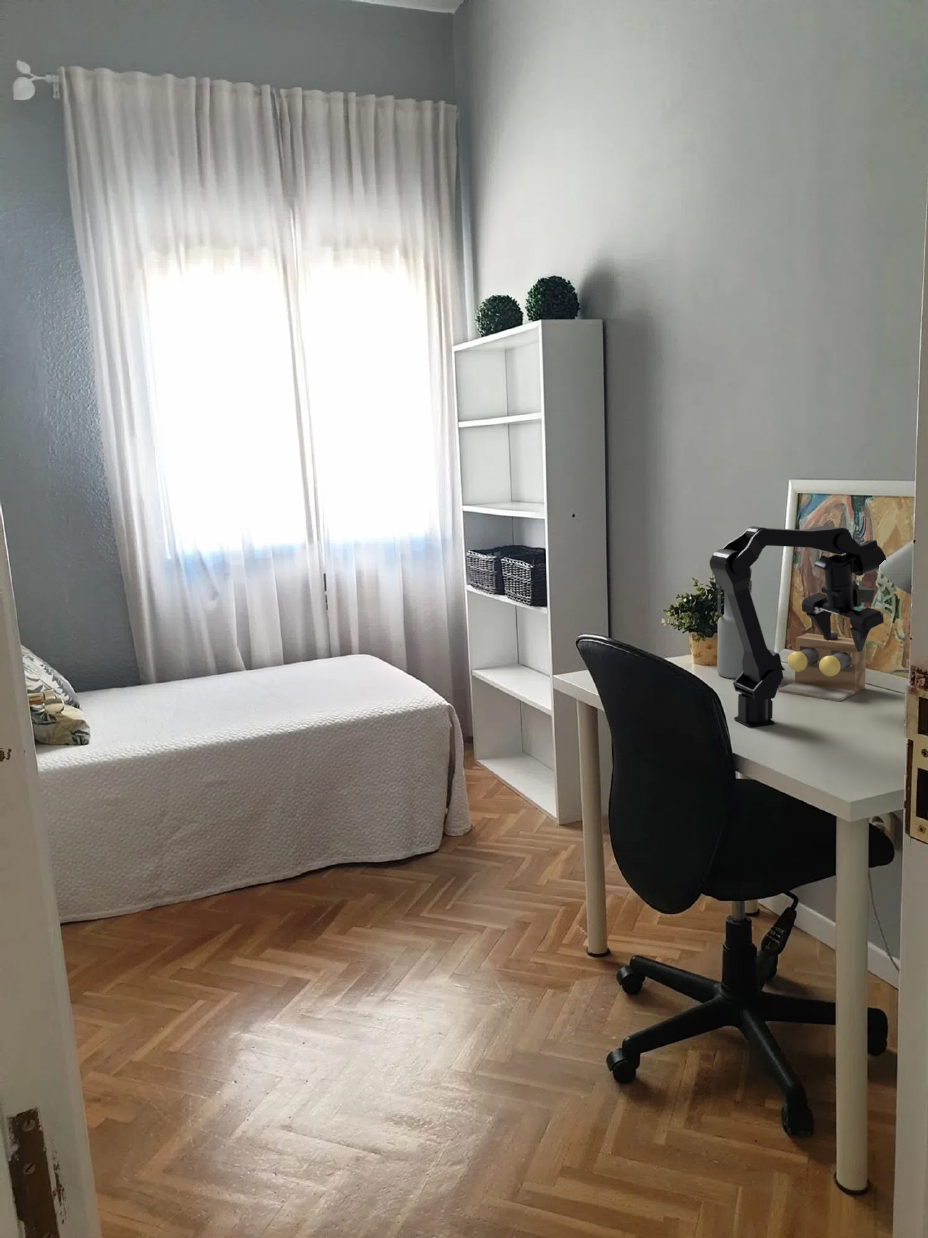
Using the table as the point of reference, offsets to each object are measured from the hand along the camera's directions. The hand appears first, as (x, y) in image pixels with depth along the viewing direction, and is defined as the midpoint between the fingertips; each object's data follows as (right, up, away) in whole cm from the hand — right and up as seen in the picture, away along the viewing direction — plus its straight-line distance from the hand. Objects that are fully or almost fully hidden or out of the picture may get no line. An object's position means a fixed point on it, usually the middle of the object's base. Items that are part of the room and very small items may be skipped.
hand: (843, 645), depth 216 cm
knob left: (-3, -6, +18) cm, 19 cm away
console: (+1, -11, +17) cm, 21 cm away
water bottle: (-14, -9, +35) cm, 39 cm away
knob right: (+3, -7, +13) cm, 15 cm away
